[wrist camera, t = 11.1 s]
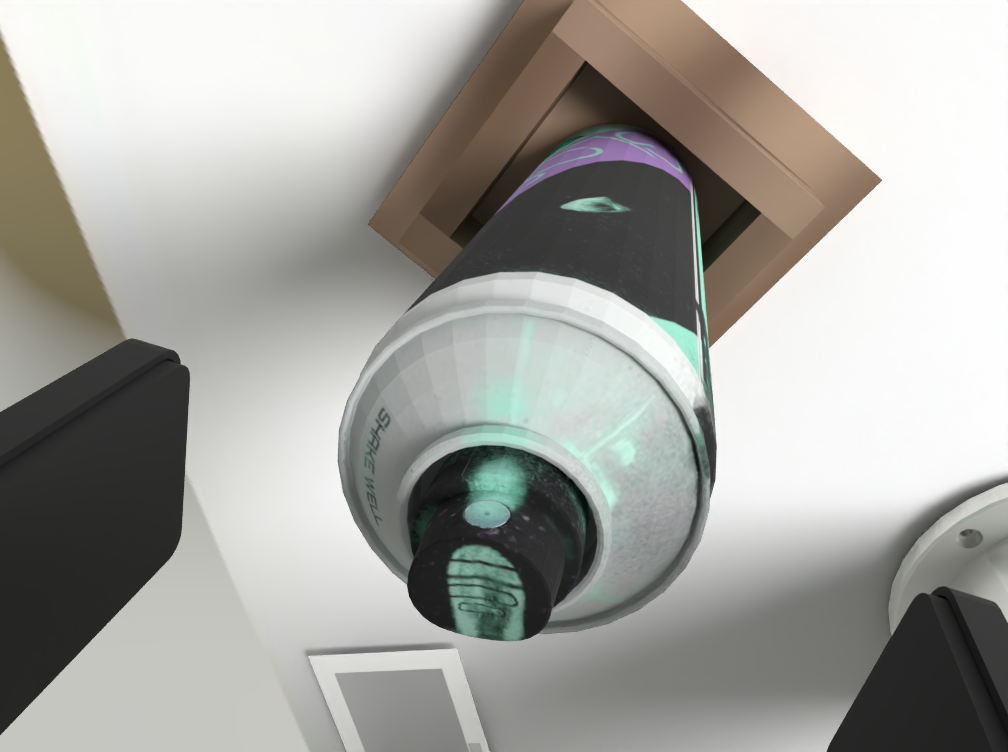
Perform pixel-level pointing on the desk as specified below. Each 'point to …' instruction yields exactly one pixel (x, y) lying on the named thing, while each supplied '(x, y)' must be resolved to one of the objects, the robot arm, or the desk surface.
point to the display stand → (644, 103)
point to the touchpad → (401, 701)
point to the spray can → (546, 403)
